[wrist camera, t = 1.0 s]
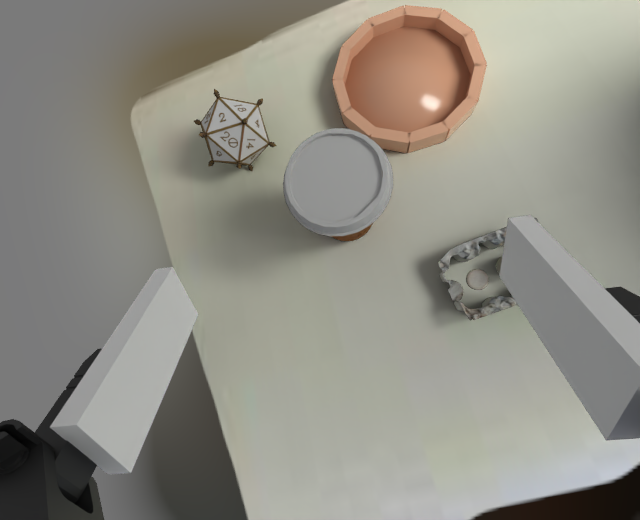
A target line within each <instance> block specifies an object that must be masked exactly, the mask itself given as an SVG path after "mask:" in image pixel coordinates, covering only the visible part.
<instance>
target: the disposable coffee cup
mask: <svg viewBox="0 0 640 520" xmlns="http://www.w3.org/2000/svg"><path fill="white" fill-rule="evenodd" d="M283 188H284V196H285V200H286V204H287V206H288V208H289V210H290V212H291V214H292V215H293V216H294V217H295V218H296V220H297V221H298V222H299V223H300V224H302V225H303V226H304V227H306V228H307V229H309V230H311V231H313V232H315V233H318V234H321V235H326V236H331V237H333V238H335V239H337V240H340V241H353V240H356V239H359V238H360V237H362V236H363V235H365V234H366V233H367V232H368V230H369V229H370V228H371V226H372V224H373V222H374V221H375V220H376V219H378V217H379V216H380V215H381V214H382V213H383V211H384V210H385V208H386V206H387V204H388V202H389V200H390V197H391V193H392V189H393V173H392V168H391V164H390V162H389V160H388V158H387V155H386V154H385V153H384V151H383V150H382V149H381V147H380V146H379V145H378V144H377V143H375V142H374V141H373V140H372V139H370V138H369V137H367V136H366V135H364V134H362V133H360V132H358V131H354V130H351V129H344V128H333V129H328V130H324V131H321V132H318V133H316V134H314V135H312V136H311V137H309V138H308V139H306V140H305V141H304V142H302V143H301V144H300V145H299V147H298V148H297V149H296V150H295V152H294V153H293V155H292V156H291V158H290V161H289V163H288V166H287V168H286V171H285V175H284V182H283Z"/></svg>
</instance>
